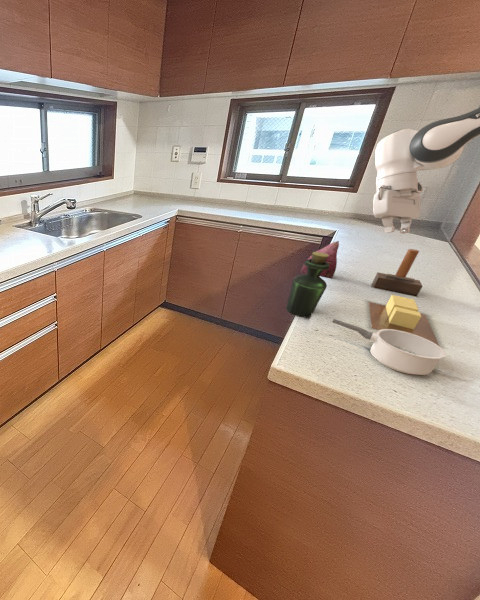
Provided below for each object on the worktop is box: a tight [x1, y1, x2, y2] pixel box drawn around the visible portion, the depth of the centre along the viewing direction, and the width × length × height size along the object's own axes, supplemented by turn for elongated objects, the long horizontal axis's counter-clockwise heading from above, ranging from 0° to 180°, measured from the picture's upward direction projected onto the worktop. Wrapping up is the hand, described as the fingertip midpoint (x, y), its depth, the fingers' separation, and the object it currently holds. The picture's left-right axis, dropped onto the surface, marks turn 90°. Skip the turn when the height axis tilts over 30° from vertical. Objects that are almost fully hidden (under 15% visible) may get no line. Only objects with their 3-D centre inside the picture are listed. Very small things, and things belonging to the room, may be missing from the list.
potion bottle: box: [285, 251, 329, 318], centre depth 92 cm, size 8×8×18 cm
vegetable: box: [300, 240, 340, 280], centre depth 121 cm, size 10×10×15 cm
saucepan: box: [331, 318, 446, 376], centre depth 76 cm, size 12×20×6 cm, turn 47°
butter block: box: [385, 294, 419, 317], centre depth 92 cm, size 5×8×4 cm, turn 143°
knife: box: [385, 248, 420, 282], centre depth 107 cm, size 7×3×15 cm, turn 53°
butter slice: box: [389, 307, 422, 329], centre depth 87 cm, size 5×3×4 cm, turn 53°
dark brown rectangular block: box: [371, 272, 423, 297], centre depth 109 cm, size 11×6×5 cm, turn 53°
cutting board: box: [368, 301, 440, 347], centre depth 90 cm, size 13×20×2 cm, turn 143°
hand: (397, 232), depth 99 cm, fingers open, 8 cm apart
